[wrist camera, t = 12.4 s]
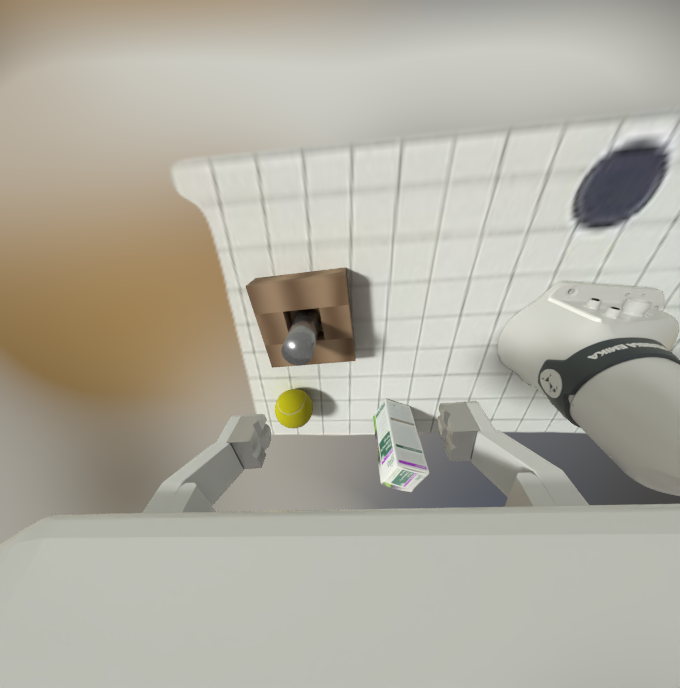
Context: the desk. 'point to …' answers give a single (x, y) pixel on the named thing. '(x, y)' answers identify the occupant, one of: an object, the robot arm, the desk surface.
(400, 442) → the syrup box
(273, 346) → the socket block
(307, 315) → the pin
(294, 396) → the tennis ball
